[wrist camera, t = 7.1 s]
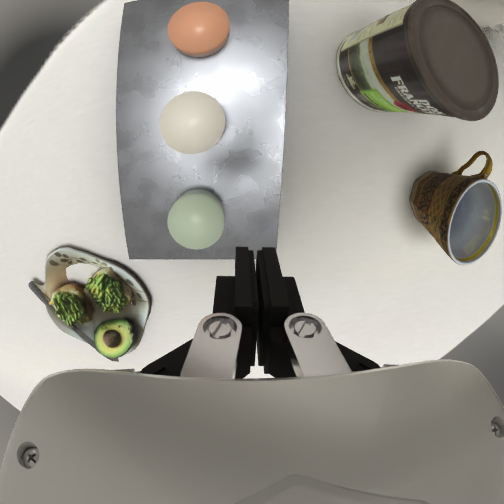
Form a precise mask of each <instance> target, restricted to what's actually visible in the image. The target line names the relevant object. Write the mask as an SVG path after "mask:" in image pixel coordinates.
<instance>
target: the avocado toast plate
mask: <svg viewBox="0 0 504 504" xmlns="http://www.w3.org/2000/svg"><path fill="white" fill-rule="evenodd" d="M77 263H85V264H86V263H87V264H91V265H94V266H97V267H100V268H101V269H100V270H98V271H97V272H96V273H95V274H94V275H93V277H92V278H89V279H88V283H87V284H81V285H79V284H77V283H76V282H69V281H68V279H67V276H66V268H67V267H68V266H70V265H73V264H77ZM29 287H30V289H31V290H32V291H33V292H34V293H35V294H36V295H37V297H38V298H39V299H40V300H41V301H42V302H43V303H44V304H45V305H46V309H47V311H48V314H49V316H50V317H51V319H52V320H53V322H54V323H55V324H56V326H57V327H58V328H59V329H60V330H62V331H63V332H65V333H67V334H69V335H70V336H73V337H75V338H77V339H79V340H82V341H84V342H86V343H88V344H90V345H91V346H92V347H94V348H95V349H96V350H97V351H98V352H99V353H100V354H102V355H103V356H105V357H106V358H108V359H110V360H111V361H118V357H121V356H123V355H124V354H127V353H130V352H132V351H133V350H135V349H136V347H137V346H138V345H139V343H140V341H141V338H142V335H143V332H144V328H145V324H146V321H147V319H148V317H149V314H150V309H151V298H150V296H149V294H148V292H147V290H146V288H145V287H144V285H143V283H142V282H141V281H140V280H139V279H138V278H137V276H136V275H134V274H133V273H132V272H131V271H129V270H128V269H126V268H125V267H123V266H122V265H120V264H118V263H116V262H114V261H108V260H105V259H102V258H99V257H97V256H95V255H92V254H90V253H87V252H84V251H80V250H76V249H73V248H71V247H62V248H57V249H56V250H54V251H52V252H51V253H49V254H48V255H47V259H46V265H45V283H44V285H39V284H37V283H35V282H33V281H31V282H30V283H29ZM118 362H119V361H118Z"/></svg>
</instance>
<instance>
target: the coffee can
mask: <svg viewBox="0 0 504 504" xmlns="http://www.w3.org/2000/svg"><path fill="white" fill-rule="evenodd" d="M336 63H337V71H338V75H339V78H340V80H341V82H342V84H343V86H344V88H345V89H346V91H347V92H348V93H349V94H350V96H351V97H352V98H353V99H354V100H356V101H357V102H358V103H359V104H361V105H362V106H364V107H366V108H368V109H370V110H374V111H378V112H389V111H392V112H410V113H423V114H432V115H442V116H450V117H456V118H459V119H462V120H467V121H476V120H480V119H482V118H484V117H485V116H487V115H488V114H489V113H490V111H491V110H492V108H493V106H494V104H495V102H496V98H497V94H498V70H497V65H496V60H495V57H494V54H493V51H492V48H491V46H490V44H489V42H488V40H487V38H486V36H485V34H484V33H483V31H482V29H481V28H480V27H479V25H478V24H477V23H476V21H475V20H474V19H473V18H472V17H471V16H470V15H469V14H468V13H467V12H466V11H465V10H464V9H463V8H462V7H460V6H459V5H458V4H456V3H454V2H453V1H451V0H417V1H415V2H414V3H413V4H411V5H409V6H407V7H405V8H402V9H400V10H398V11H396V12H394V13H392V14H390V15H387V16H386V17H384V18H382V19H380V20H378V21H376V22H374V23H372V24H370V25H368V26H366V27H365V28H363V29H361V30H359V31H358V32H355V33H352V34H351V35H349V36H348V37H346V38H345V39H344V41H343V42H342V43H341V45H340V47H339V49H338V52H337V59H336Z"/></svg>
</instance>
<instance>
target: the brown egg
mask: <svg viewBox="0 0 504 504" xmlns="http://www.w3.org/2000/svg"><path fill="white" fill-rule="evenodd" d="M168 36H169V38H170V40H171V42H172V43H173V44H174V45H175V47H176V48H177V49H178V50H179V51H180V52H181V53H183V54H185V55H187V56H190V57H206V56H209V55H212V54H214V53H216V52H217V51H219V50H220V49H221V48H222V47H223V46H224V45H225V44H226V42H227V40H228V37H229V18H228V15H227V14H226V12H225V11H224V10H223V9H222V8H221V7H219V6H218V5H216V4H213V3H209V2H194V3H191V4H188V5H185V6H183V7H182V8H180V9H179V10H177V11H176V12H175V13H174V15H173V16H172V17H171V19H170V21H169V23H168Z"/></svg>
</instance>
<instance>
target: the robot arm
mask: <svg viewBox="0 0 504 504" xmlns="http://www.w3.org/2000/svg"><path fill="white" fill-rule="evenodd" d="M451 1H453V2H454V3H456V4H458V5H459V6H460V7H462V8H463V9H464V10H465V11H466V12H467V13H468V14H469V15H470V16H471V17H472V18H473V19H474V20H475V21H476V23H477V24H478V25H479V27H480V28H481V29H482V31H483V33H484V30H485V28H486V27H490V28H491V29H495V30H496V31H497V32H498V33H499V34H501V35H502V36H504V26H503V25H502V24H504V0H451ZM256 340H257V353H258V365H259V366H264V374H270V375H272V376H273V377H275V378H259V379H243V378H244V377H245V376H247V375H248V374H249V373H250V366H254V365H255V353H256ZM0 504H504V407H503V405H502V403H501V402H500V400H499V398H498V396H497V395H496V393H495V392H494V390H493V388H492V387H491V385H490V384H489V382H488V381H487V379H486V378H485V377H484V376H483V374H482V373H481V372H480V371H479V370H478V369H477V368H476V367H474V366H473V365H471V364H468V363H465V362H462V361H454V360H431V361H423V362H417V363H410V364H404V365H386V364H384V365H383V367H380V366H379V365H378V364H376V363H375V362H373V361H372V360H370V359H368V358H366V357H364V356H362V355H360V354H358V353H356V352H354V351H352V350H351V349H349V348H347V347H345V346H343V345H341V344H339V343H337V342H336V341H334V339H333V337H332V335H331V334H330V332H329V330H328V328H327V327H326V325H325V323H324V322H323V321H322V319H320V318H319V317H317V316H315V315H313V314H309V313H305V312H304V309H303V305H302V302H301V299H300V295H299V292H298V289H297V285H296V282H295V279H294V277H282V273H281V269H280V265H279V261H278V257H277V253H276V249H275V247H262V250H257V258H256V272H255V262H254V252H253V250H248V247H236V252H235V276H217V278H216V287H215V296H214V306H213V314H210V315H208V316H206V317H204V318H203V319H202V320H201V321H200V323H199V325H198V327H197V330H196V333H195V335H194V338H193V339H191V340H190V341H188V342H186V343H185V344H183V345H181V346H180V347H178V348H176V349H175V350H173V351H171V352H169V353H168V354H166V355H164V356H163V357H161V358H159V359H157V360H156V361H154V362H152V363H150V364H149V365H147V366H146V367H145V368H143V369H142V371H138V372H135V370H134V369H122V370H104V369H73V370H67V371H61V372H57V373H54V374H51V375H48V376H47V377H45V378H43V379H42V380H41V381H40V382H39V383H38V384H37V385H36V387H35V388H34V389H33V391H32V392H31V394H30V395H29V397H28V399H27V400H26V402H25V404H24V406H23V408H22V410H21V412H20V414H19V417H18V419H17V421H16V424H15V426H14V429H13V431H12V434H11V437H10V440H9V443H8V446H7V449H6V452H5V456H4V459H3V463H2V466H1V470H0Z"/></svg>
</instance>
